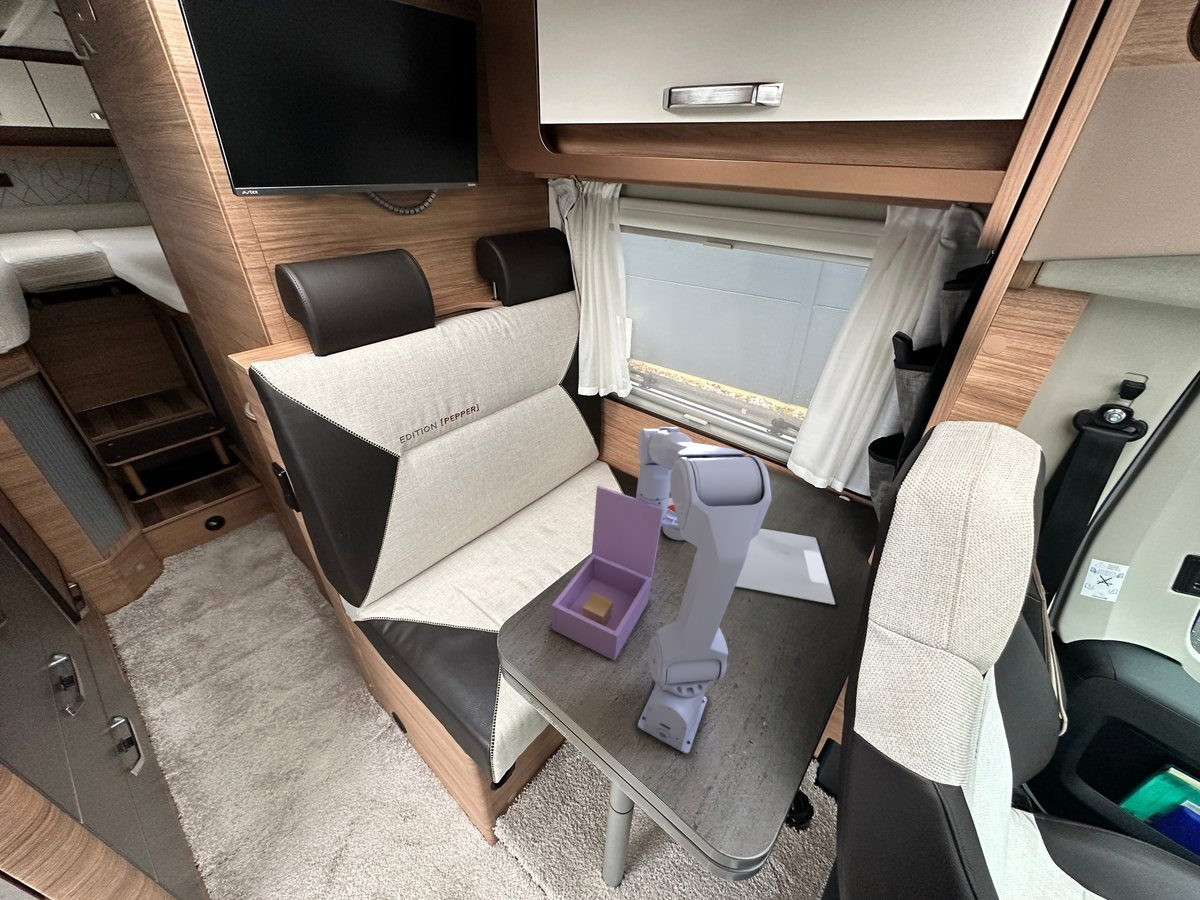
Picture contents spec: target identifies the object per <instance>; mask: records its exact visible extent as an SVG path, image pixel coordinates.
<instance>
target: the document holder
mask: <svg viewBox="0 0 1200 900" xmlns="http://www.w3.org/2000/svg"><path fill="white" fill-rule="evenodd" d="M735 588H742V589H747V590H752V591H758V592H763V593H768V594H774V595H779V596H785V597H790V598H795V599H800V600H806V601H811V602H816V603H821V604H822V603H823V604H828V605H832V606H833V605H834V606H836V602H835V598H834V594H833V592H832V588H831V585H830V581H829V578H828V574H827V572H826V568H825V564H824V561H823V558H822V554H821V550H820V547H819V544H818V541H817V537H814V536H809V535H803V534H798V533H797V534H796V533H790V532H786V531H785V532H784V531H779V530H772V529H766V528H762V527H760V530H759V532H758V534H757V535H756V536H755V537H754V538H752V539H751V540H750V544H749V548H748V552H747V556H746V560H745V563H744V565H743V568H742V570H741V573H740V575H739V578H738V580H737V583H736V585H735Z"/></svg>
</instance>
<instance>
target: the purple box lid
mask: <svg viewBox="0 0 1200 900" xmlns="http://www.w3.org/2000/svg"><path fill="white" fill-rule="evenodd" d="M663 510H664V508H662V507H659V506H656V505H653V504H648V503H646V502H643V501H642V500H639V499H636V498H635V497H633V496H630V495H628V494H624V493H621V492H618V491H616V490H612V489H610V488H608V487H604V486H601V485H598V486H596V491H595V505H594V520H593V533H592V543H591V545H592V546H591V554H594V555H596V556H599V557H601V558H603V559H606V560H608V561H611V562H613V563H615V564H618V565H620V566H623V567H625V568H627V569H630V570H632V571H635V572H637V573H639V574H642V575H644V576H647V577H649V578H651V579H652V577H653V576H654V570H655V564H656V558H657V554H658V553H657V552H658V546H659V540H660V534H661V530H660V528H661V522H662V516H663ZM661 529H662V528H661Z"/></svg>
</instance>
